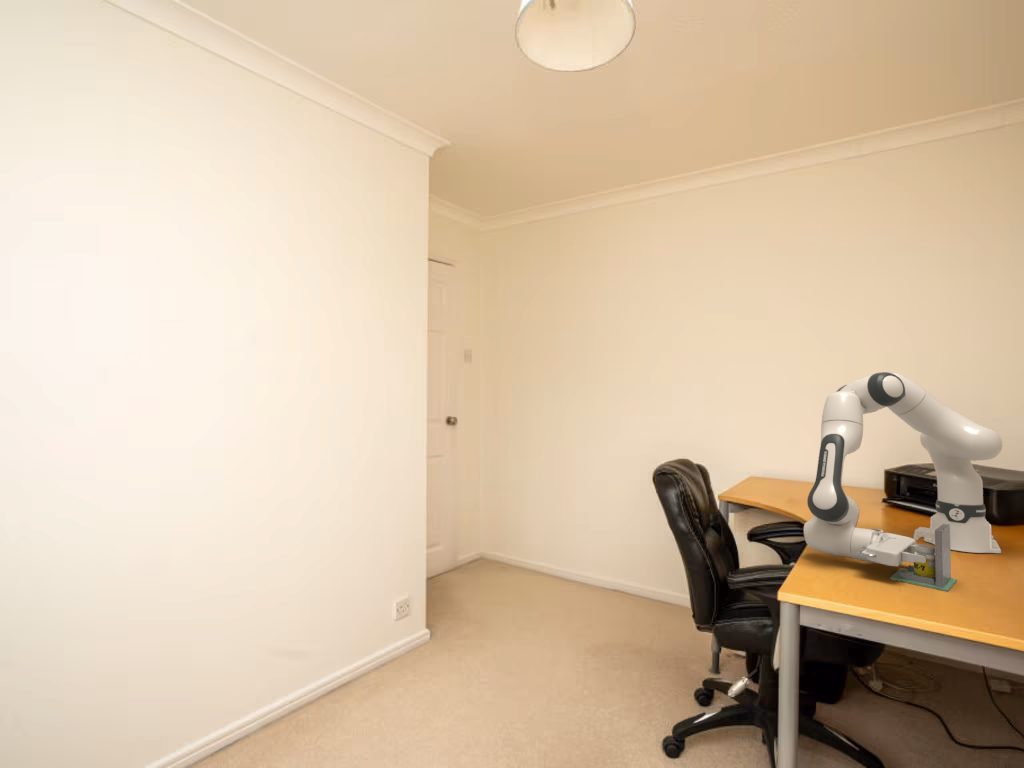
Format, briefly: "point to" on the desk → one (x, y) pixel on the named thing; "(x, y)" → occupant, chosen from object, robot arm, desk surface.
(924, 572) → the supplement bottle
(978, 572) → the desk surface
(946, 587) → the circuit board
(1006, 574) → the desk surface
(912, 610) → the desk surface
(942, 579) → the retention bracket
